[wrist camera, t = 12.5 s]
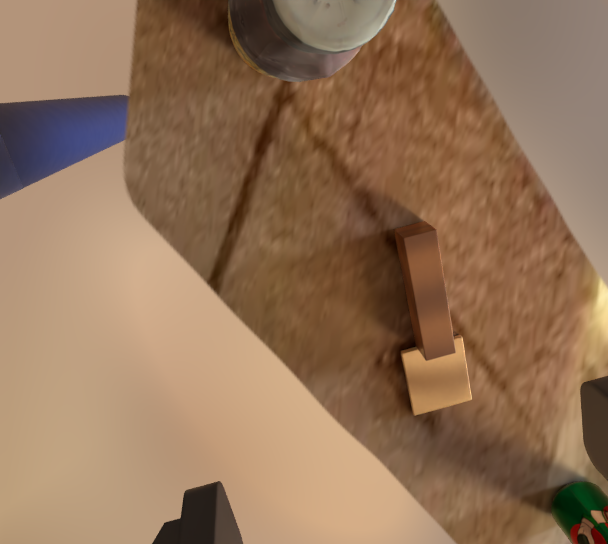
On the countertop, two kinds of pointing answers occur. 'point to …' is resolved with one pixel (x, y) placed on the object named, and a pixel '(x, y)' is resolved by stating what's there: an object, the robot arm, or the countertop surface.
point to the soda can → (582, 513)
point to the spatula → (430, 325)
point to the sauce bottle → (303, 34)
